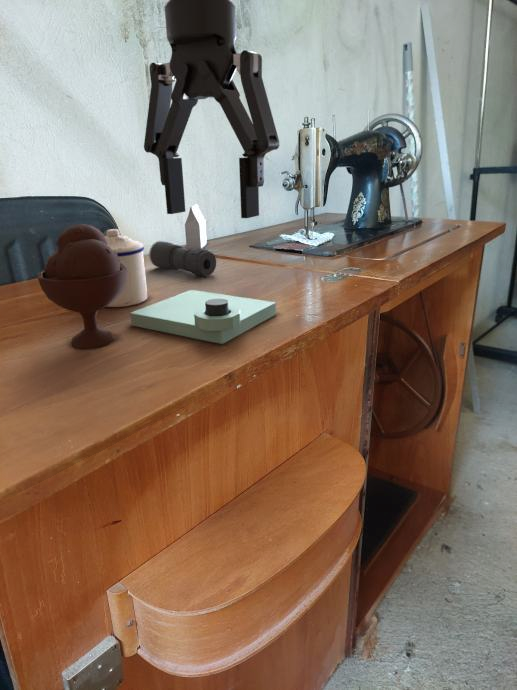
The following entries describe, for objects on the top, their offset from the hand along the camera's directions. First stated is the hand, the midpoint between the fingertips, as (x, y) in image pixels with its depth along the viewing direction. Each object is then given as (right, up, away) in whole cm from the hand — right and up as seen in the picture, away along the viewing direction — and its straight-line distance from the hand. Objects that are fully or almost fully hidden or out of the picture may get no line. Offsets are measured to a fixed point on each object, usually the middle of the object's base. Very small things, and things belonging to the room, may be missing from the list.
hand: (211, 214), depth 63 cm
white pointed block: (-10, +9, +69) cm, 70 cm away
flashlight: (-10, -1, +42) cm, 43 cm away
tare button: (0, -12, +5) cm, 13 cm away
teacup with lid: (-19, -9, +23) cm, 31 cm away
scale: (-2, -12, +13) cm, 18 cm away
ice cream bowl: (-16, -16, +6) cm, 23 cm away
